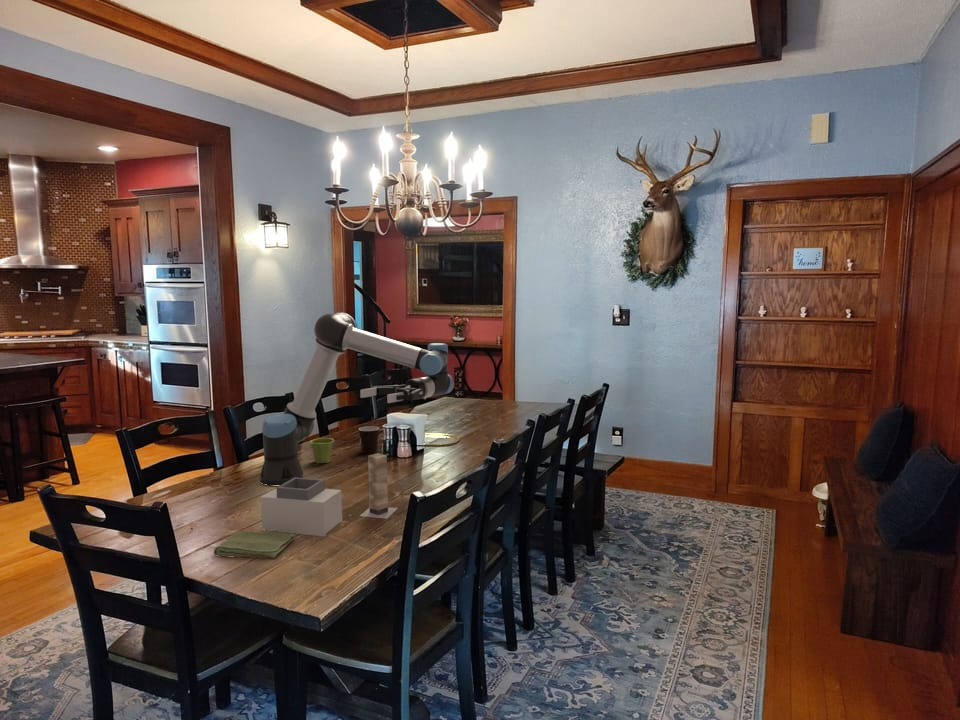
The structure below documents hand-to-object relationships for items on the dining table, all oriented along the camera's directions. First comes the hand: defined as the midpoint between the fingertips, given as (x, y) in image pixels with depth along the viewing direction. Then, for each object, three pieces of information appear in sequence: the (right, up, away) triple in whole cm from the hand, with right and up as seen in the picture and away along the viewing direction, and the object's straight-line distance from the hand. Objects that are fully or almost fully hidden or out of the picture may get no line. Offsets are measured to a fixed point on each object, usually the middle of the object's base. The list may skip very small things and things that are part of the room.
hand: (374, 396), depth 208 cm
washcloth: (-26, -40, -40) cm, 62 cm away
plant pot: (-28, -29, +42) cm, 58 cm away
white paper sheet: (+4, -36, -15) cm, 39 cm away
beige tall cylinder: (+4, -35, -15) cm, 38 cm away
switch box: (-17, -37, -24) cm, 47 cm away
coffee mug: (-11, -27, +59) cm, 66 cm away
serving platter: (+8, -25, +75) cm, 80 cm away
